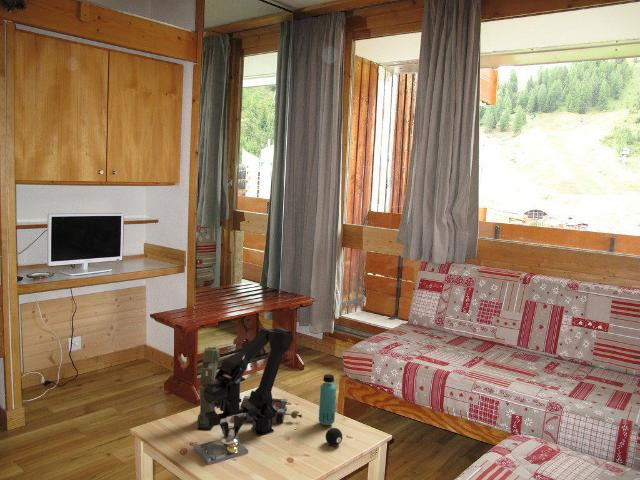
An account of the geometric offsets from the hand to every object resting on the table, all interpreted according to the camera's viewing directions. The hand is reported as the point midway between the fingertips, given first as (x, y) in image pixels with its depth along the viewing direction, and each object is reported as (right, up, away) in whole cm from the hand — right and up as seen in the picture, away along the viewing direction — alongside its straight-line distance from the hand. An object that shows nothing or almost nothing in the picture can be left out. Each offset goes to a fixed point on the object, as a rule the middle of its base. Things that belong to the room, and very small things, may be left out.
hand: (230, 437), depth 193 cm
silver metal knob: (0, -2, 0) cm, 2 cm away
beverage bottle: (+34, -3, +20) cm, 40 cm away
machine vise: (+12, -1, +26) cm, 29 cm away
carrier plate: (-3, -3, -4) cm, 6 cm away
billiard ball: (+37, -5, +5) cm, 37 cm away
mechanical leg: (-11, -1, +17) cm, 20 cm away
